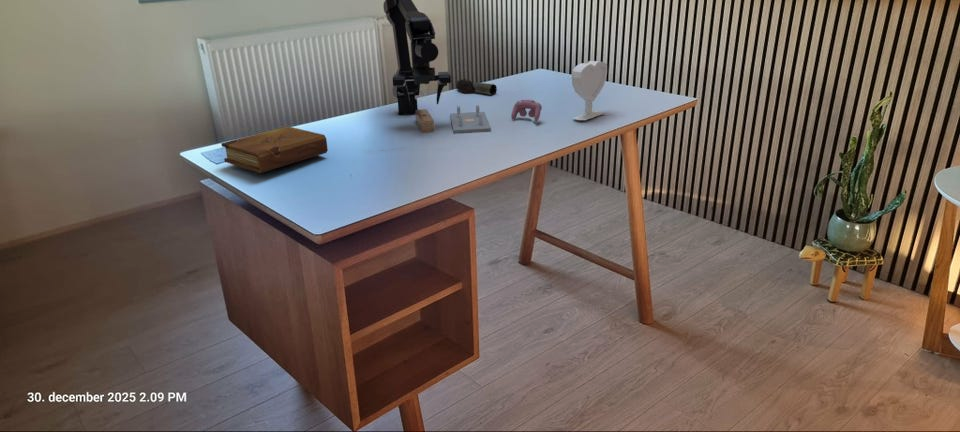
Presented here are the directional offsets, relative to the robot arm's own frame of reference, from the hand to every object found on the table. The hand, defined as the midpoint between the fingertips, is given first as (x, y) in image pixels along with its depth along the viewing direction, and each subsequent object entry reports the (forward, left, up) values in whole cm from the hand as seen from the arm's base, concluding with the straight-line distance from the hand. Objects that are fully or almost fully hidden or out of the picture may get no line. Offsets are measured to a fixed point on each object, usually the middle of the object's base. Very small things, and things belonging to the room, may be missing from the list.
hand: (423, 104), depth 221 cm
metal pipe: (+25, +39, -10) cm, 48 cm away
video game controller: (+34, 0, -7) cm, 35 cm away
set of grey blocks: (+15, 0, -7) cm, 17 cm away
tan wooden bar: (0, 0, -8) cm, 8 cm away
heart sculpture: (+56, +2, -7) cm, 57 cm away
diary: (-44, -25, -8) cm, 51 cm away
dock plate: (+15, 0, -7) cm, 17 cm away
